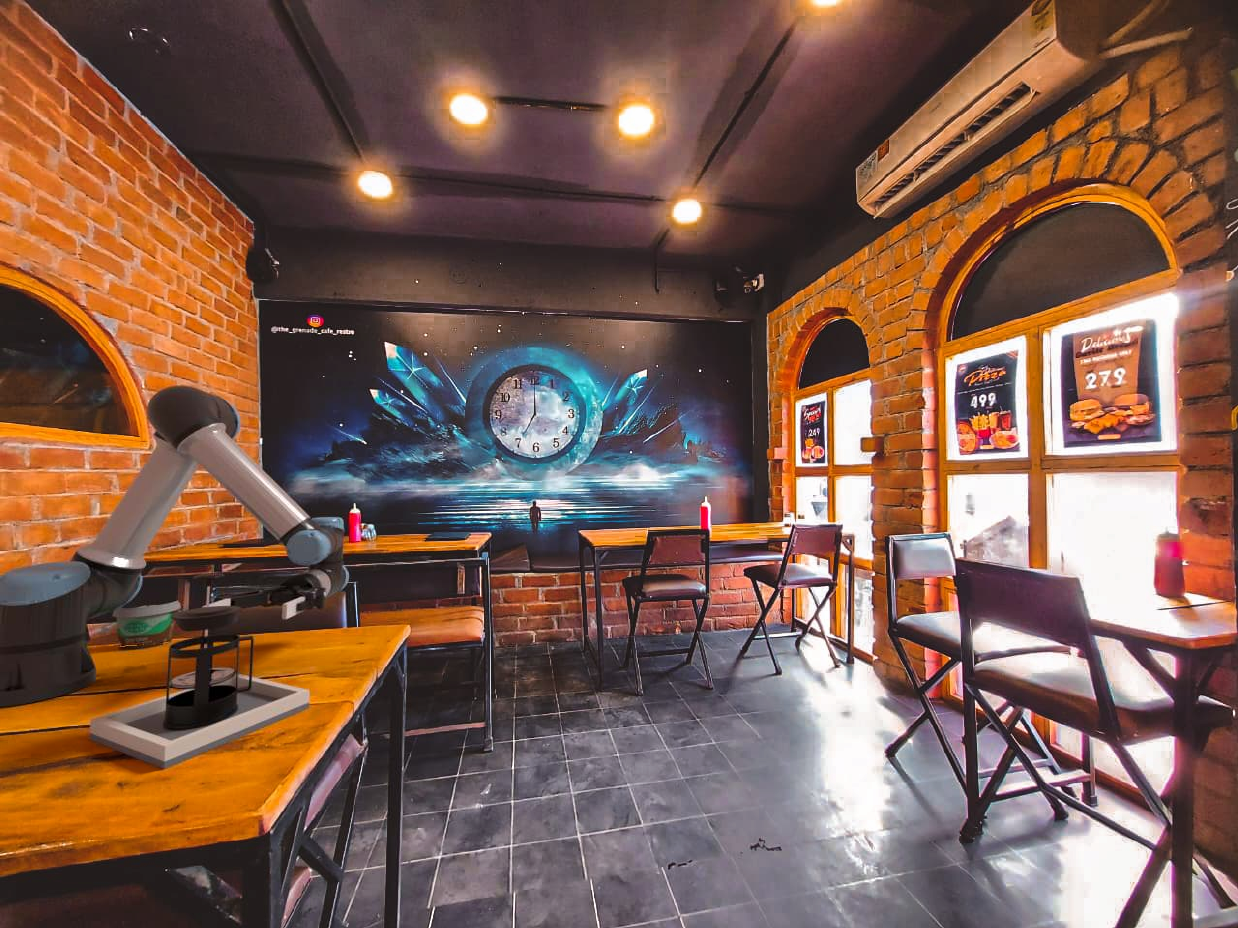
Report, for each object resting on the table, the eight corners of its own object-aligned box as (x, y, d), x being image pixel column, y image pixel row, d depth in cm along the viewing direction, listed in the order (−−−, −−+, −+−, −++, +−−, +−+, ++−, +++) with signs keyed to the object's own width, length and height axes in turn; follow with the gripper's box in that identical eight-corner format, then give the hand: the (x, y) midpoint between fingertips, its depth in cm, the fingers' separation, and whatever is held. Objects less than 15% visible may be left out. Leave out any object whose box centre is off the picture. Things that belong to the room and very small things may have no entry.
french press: (152, 737, 73) (161, 581, 75) (161, 714, 81) (169, 573, 82) (250, 715, 80) (257, 573, 82) (250, 697, 88) (256, 567, 89)
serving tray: (89, 739, 75) (90, 719, 75) (236, 689, 94) (237, 673, 94) (164, 769, 67) (165, 746, 67) (309, 707, 86) (309, 690, 86)
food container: (102, 655, 113) (105, 611, 114) (111, 648, 118) (113, 605, 119) (174, 645, 120) (176, 604, 120) (179, 639, 125) (181, 599, 125)
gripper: (362, 604, 112) (316, 631, 91) (244, 607, 109) (168, 636, 88) (363, 571, 113) (317, 590, 92) (245, 573, 110) (170, 593, 89)
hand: (244, 612), depth 90 cm, fingers open, 13 cm apart
